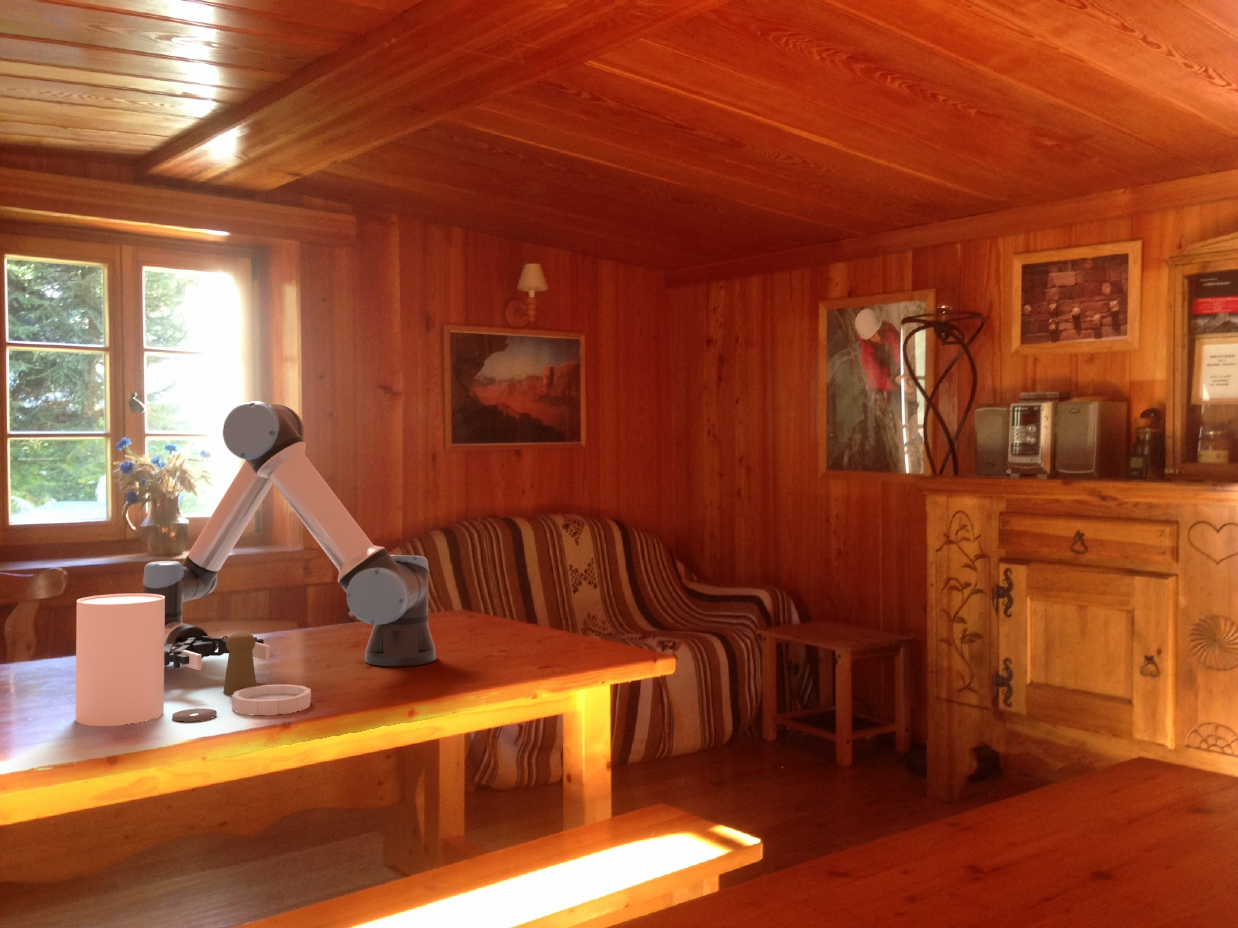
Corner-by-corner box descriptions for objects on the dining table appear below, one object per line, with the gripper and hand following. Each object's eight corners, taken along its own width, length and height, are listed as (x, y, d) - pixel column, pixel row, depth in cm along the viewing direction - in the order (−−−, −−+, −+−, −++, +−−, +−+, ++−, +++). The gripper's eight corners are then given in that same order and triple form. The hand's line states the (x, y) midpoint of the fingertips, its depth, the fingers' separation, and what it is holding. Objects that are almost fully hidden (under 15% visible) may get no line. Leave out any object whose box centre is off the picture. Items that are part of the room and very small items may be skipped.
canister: (72, 729, 168) (73, 605, 168) (78, 710, 181) (79, 595, 181) (163, 721, 174) (164, 602, 174) (163, 703, 186) (164, 592, 186)
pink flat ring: (312, 696, 193) (312, 683, 193) (307, 713, 180) (307, 699, 180) (238, 699, 190) (238, 685, 190) (227, 716, 177) (228, 702, 177)
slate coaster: (219, 711, 181) (219, 707, 181) (213, 721, 175) (213, 717, 175) (176, 712, 180) (176, 709, 180) (168, 722, 173) (168, 719, 173)
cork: (245, 696, 193) (246, 636, 193) (216, 694, 194) (217, 635, 194) (263, 689, 199) (263, 631, 199) (234, 687, 200) (235, 630, 200)
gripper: (241, 653, 220) (294, 667, 206) (120, 670, 202) (168, 687, 188) (241, 617, 220) (294, 629, 206) (120, 631, 202) (169, 645, 188)
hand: (234, 657), depth 197 cm, fingers open, 13 cm apart
